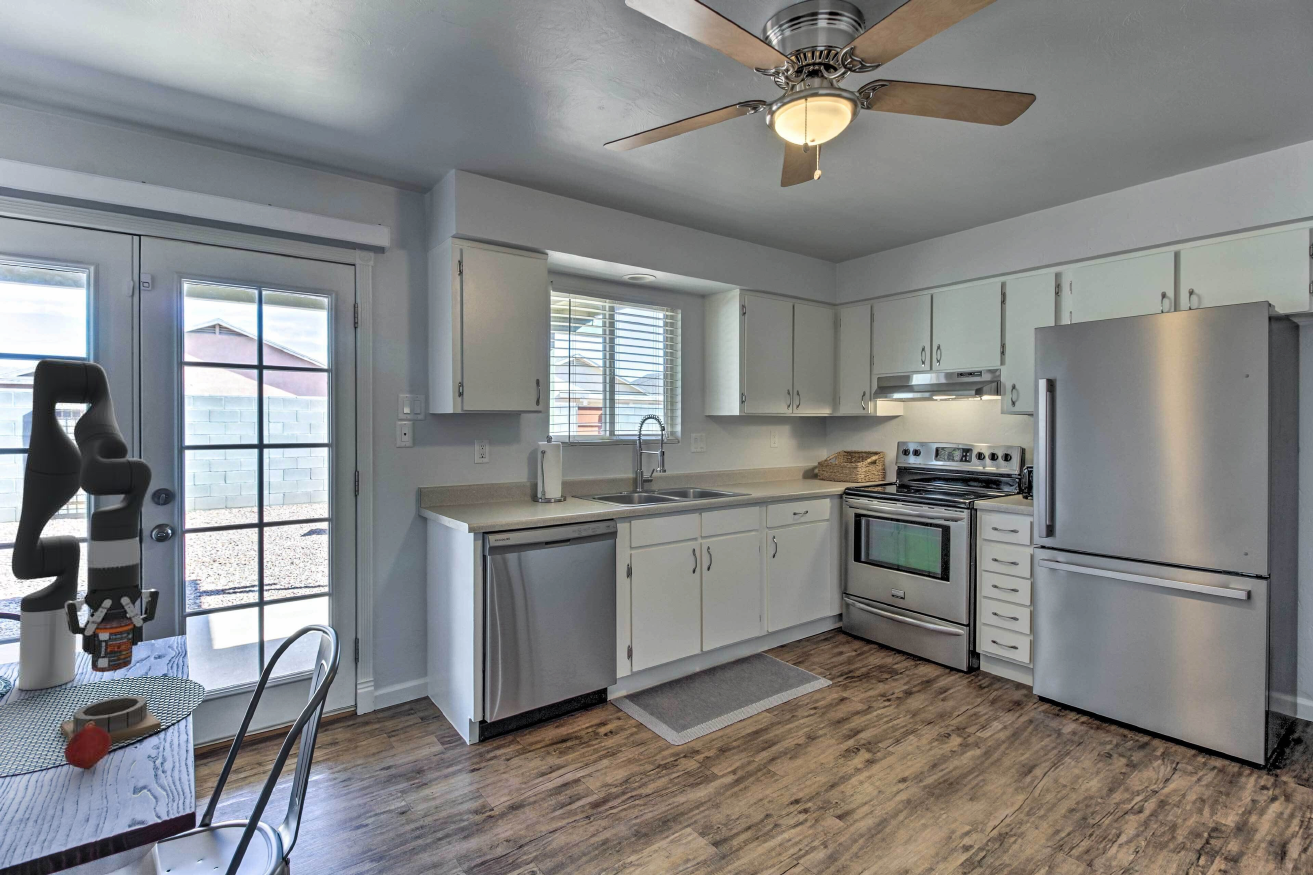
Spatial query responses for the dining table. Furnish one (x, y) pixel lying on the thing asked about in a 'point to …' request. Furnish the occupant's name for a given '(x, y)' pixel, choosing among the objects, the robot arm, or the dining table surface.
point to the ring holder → (114, 718)
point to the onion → (88, 746)
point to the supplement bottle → (113, 642)
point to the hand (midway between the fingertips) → (112, 648)
